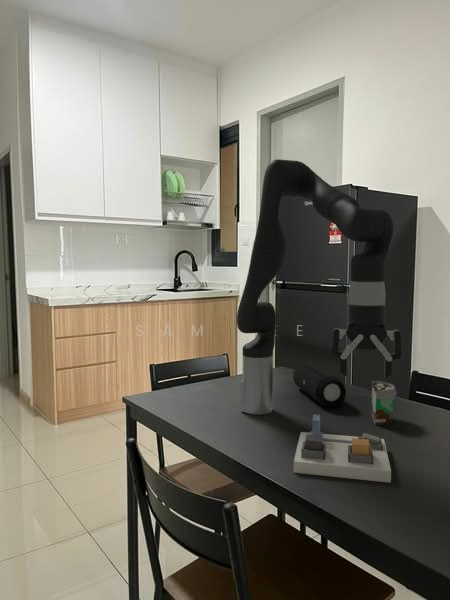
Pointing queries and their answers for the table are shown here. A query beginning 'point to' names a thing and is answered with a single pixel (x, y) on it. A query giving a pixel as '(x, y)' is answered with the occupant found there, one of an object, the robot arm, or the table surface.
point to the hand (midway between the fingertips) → (365, 376)
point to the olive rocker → (371, 439)
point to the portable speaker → (319, 384)
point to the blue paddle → (316, 426)
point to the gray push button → (313, 442)
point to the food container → (382, 402)
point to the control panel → (343, 459)
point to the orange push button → (360, 446)
